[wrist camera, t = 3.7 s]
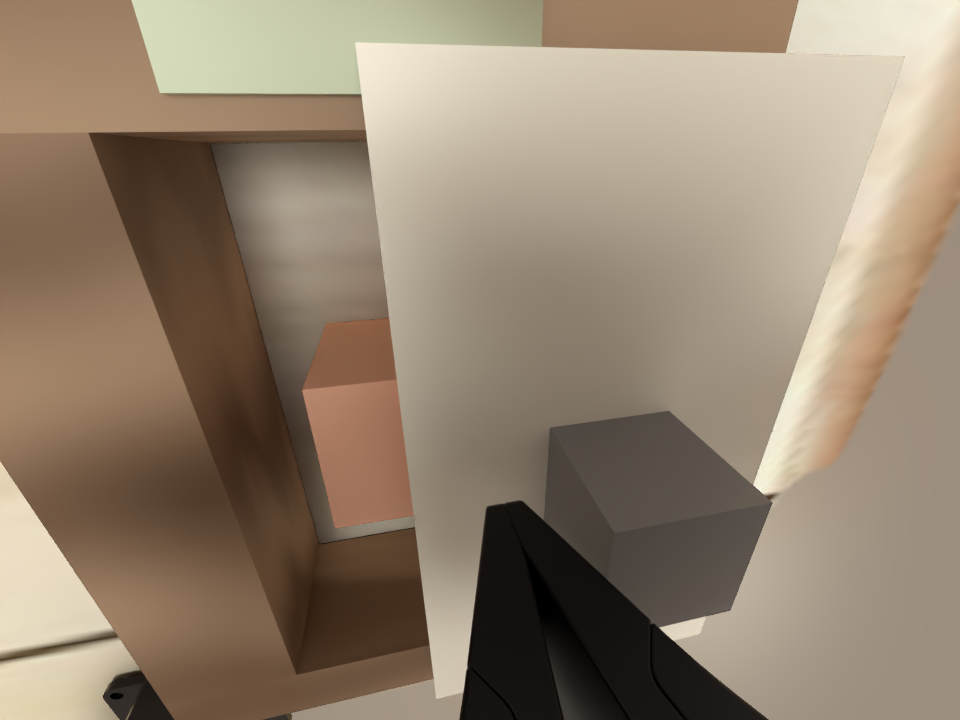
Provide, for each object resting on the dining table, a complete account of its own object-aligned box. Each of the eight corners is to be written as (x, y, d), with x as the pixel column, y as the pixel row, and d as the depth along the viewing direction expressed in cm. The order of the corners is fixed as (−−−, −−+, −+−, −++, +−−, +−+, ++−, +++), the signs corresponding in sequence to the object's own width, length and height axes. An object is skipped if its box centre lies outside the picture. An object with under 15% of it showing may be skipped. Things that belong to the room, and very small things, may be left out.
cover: (685, 612, 16) (767, 736, 12) (433, 671, 14) (449, 833, 11) (859, 65, 8) (1195, -1, 5) (358, 55, 6) (328, -58, 3)
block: (466, 419, 16) (491, 502, 12) (348, 434, 16) (335, 528, 12) (461, 311, 14) (490, 369, 10) (326, 322, 14) (302, 390, 10)
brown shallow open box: (586, 527, 20) (644, 634, 16) (236, 593, 18) (183, 745, 13) (680, -197, 10) (937, -508, 5) (-155, -314, 7) (-1142, -1176, 3)
